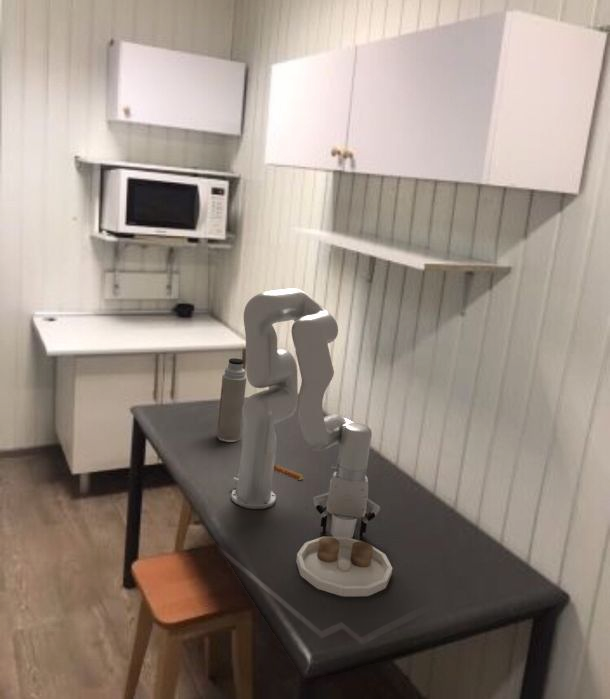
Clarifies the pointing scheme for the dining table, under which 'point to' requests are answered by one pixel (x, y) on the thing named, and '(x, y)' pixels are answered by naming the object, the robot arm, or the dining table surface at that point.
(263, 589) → the dining table surface
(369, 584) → the tray
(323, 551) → the bead
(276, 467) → the chocolate bar
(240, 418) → the thermos bottle
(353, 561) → the bead
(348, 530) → the white rimmed cylinder
